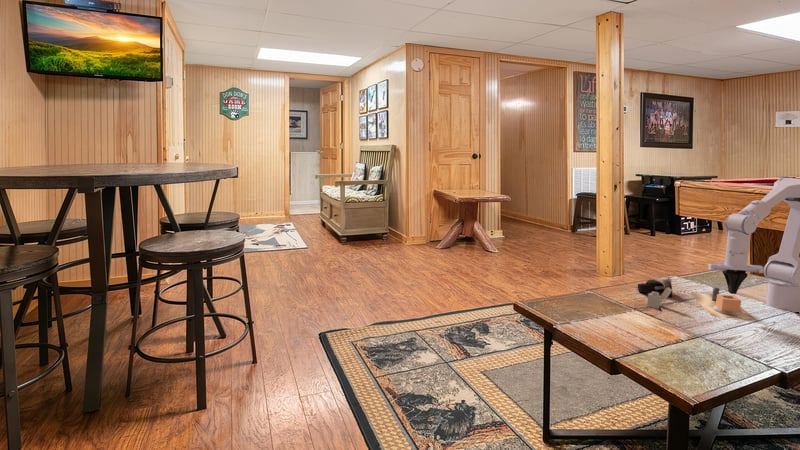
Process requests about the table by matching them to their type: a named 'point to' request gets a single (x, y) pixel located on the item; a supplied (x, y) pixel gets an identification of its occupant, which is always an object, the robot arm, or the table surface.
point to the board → (710, 306)
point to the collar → (728, 303)
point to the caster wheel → (656, 286)
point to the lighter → (657, 298)
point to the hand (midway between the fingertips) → (732, 293)
